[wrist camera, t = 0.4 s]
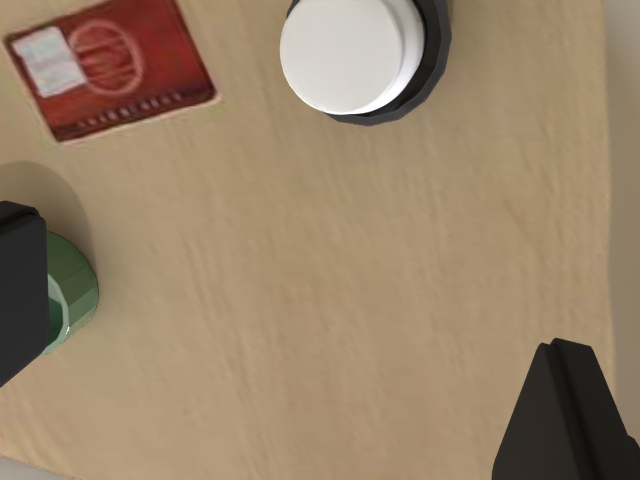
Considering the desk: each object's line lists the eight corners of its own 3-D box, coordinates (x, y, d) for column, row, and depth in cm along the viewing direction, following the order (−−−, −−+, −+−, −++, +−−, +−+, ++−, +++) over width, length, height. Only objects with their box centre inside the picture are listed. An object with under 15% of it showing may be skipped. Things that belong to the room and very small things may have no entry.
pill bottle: (314, -11, 26) (255, -20, 18) (422, -27, 24) (409, -45, 17) (328, 98, 27) (279, 132, 20) (430, 87, 26) (421, 118, 18)
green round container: (-7, 219, 34) (-46, 237, 32) (97, 241, 33) (65, 262, 31) (3, 317, 37) (-32, 341, 34) (100, 340, 36) (71, 367, 33)
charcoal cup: (310, -53, 25) (293, -61, 23) (465, -34, 24) (467, -40, 22) (294, 101, 28) (277, 111, 25) (433, 125, 27) (431, 137, 24)
